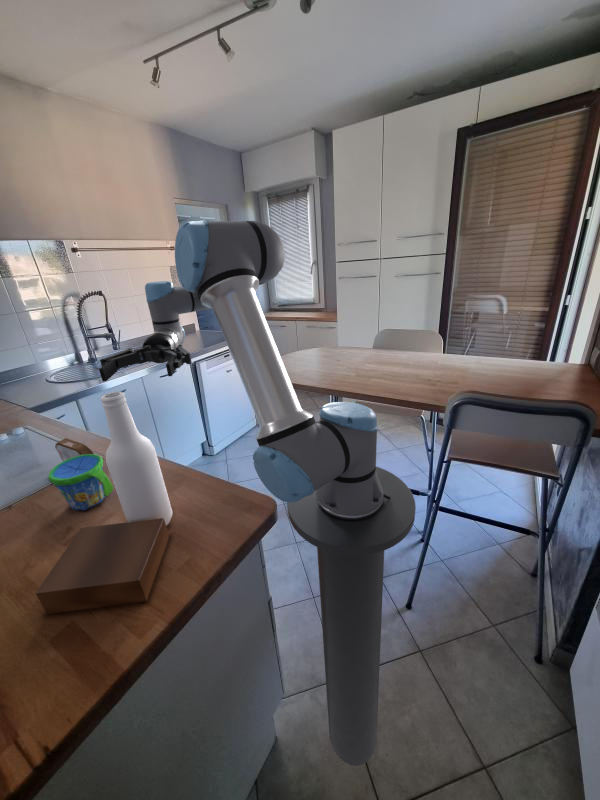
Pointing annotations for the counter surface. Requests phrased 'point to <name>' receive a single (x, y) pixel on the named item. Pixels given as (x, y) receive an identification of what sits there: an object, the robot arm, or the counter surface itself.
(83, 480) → the snack cup
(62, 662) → the counter surface
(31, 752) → the counter surface
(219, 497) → the counter surface
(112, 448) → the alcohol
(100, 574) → the stand
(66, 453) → the tin
